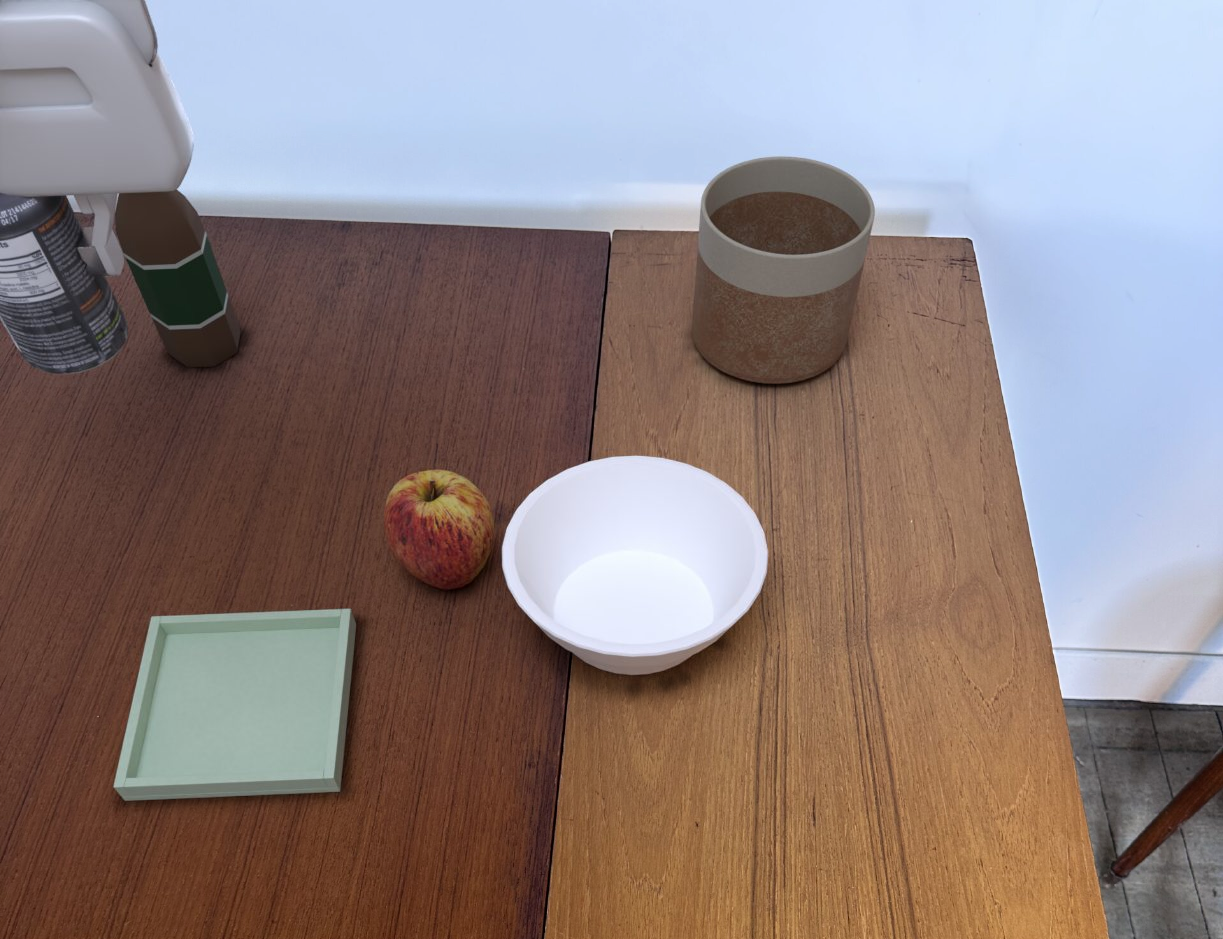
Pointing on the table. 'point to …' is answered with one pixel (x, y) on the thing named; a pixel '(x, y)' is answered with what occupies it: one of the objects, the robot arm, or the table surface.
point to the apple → (439, 527)
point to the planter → (779, 267)
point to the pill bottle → (53, 289)
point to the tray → (239, 706)
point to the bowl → (634, 561)
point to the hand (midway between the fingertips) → (38, 272)
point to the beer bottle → (177, 276)
